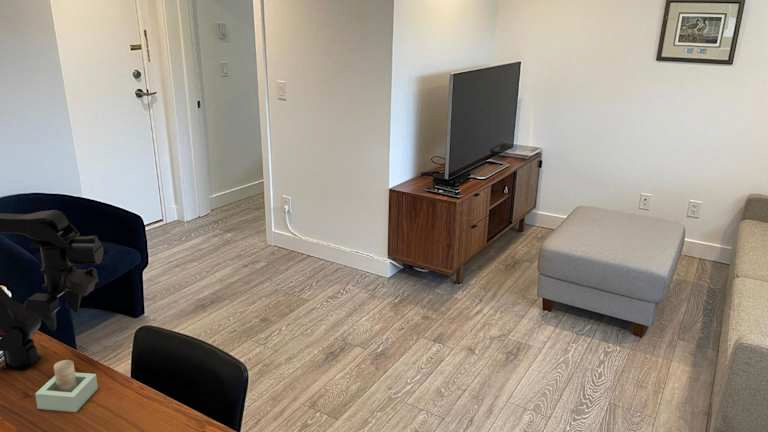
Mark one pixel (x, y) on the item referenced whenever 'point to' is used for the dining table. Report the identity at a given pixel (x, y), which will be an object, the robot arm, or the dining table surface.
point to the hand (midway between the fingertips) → (65, 320)
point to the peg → (65, 376)
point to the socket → (67, 394)
